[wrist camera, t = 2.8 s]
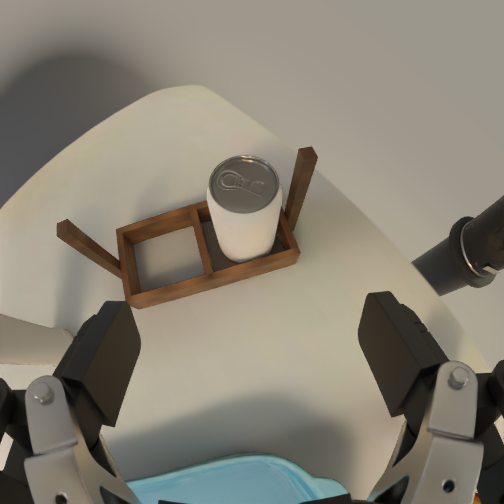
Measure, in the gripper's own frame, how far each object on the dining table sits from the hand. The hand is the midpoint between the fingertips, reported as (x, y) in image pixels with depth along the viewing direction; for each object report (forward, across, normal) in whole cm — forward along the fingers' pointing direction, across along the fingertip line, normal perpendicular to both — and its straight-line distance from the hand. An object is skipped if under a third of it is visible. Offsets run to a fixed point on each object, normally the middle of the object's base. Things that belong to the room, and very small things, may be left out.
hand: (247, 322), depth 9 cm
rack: (+22, +5, +8) cm, 24 cm away
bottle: (+14, +24, +17) cm, 32 cm away
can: (+23, 0, +7) cm, 24 cm away
